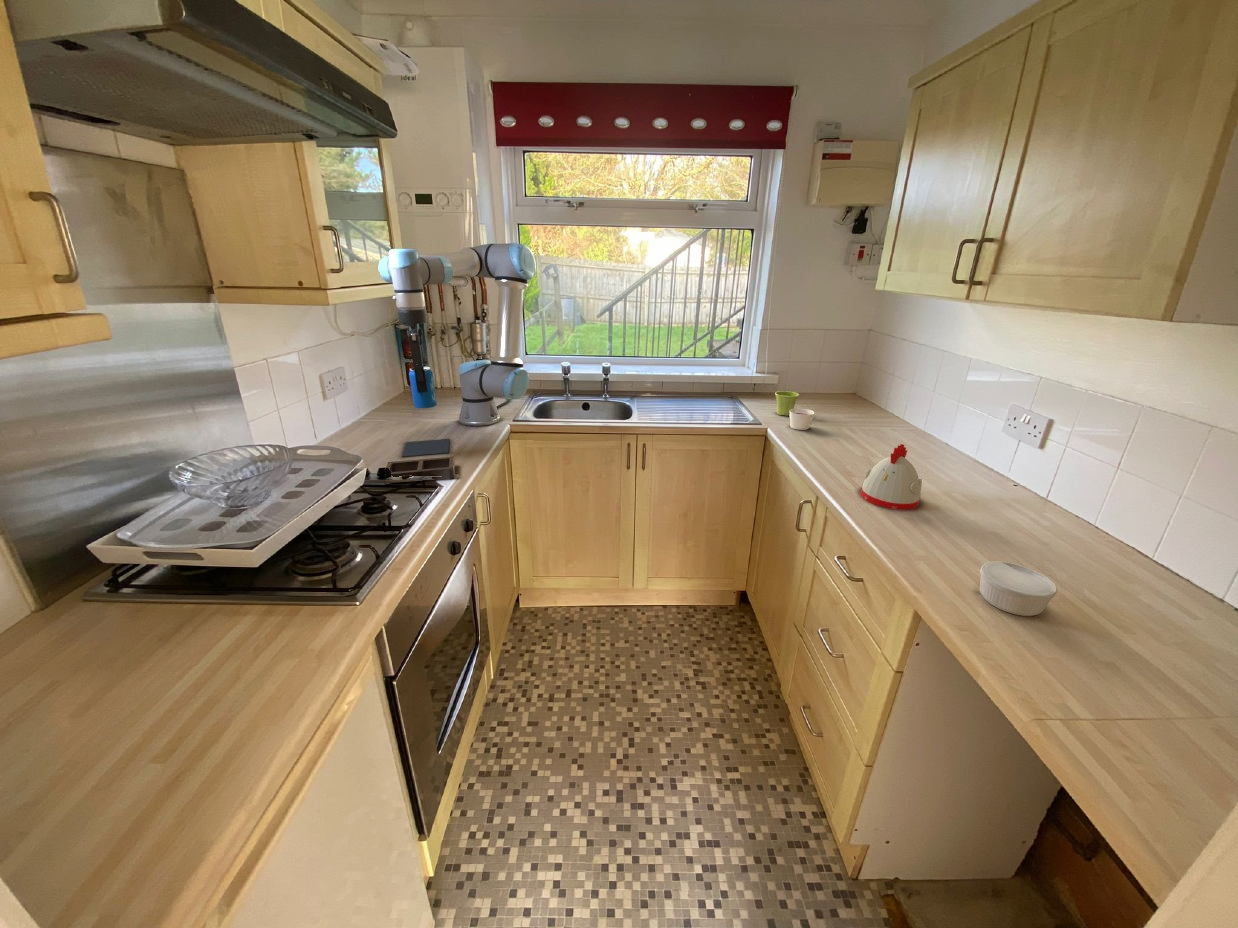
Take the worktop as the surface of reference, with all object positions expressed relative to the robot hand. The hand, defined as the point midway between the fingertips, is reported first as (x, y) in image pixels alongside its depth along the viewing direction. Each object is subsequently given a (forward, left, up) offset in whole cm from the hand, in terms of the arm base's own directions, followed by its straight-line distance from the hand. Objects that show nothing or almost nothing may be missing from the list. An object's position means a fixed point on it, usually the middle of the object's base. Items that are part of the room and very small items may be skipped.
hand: (423, 388), depth 151 cm
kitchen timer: (+61, +119, -23) cm, 135 cm away
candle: (0, +133, -23) cm, 134 cm away
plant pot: (-18, +138, -23) cm, 141 cm away
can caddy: (+13, -2, -22) cm, 26 cm away
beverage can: (0, 0, -6) cm, 6 cm away
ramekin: (+104, +107, -23) cm, 151 cm away
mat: (-11, -2, -22) cm, 25 cm away
